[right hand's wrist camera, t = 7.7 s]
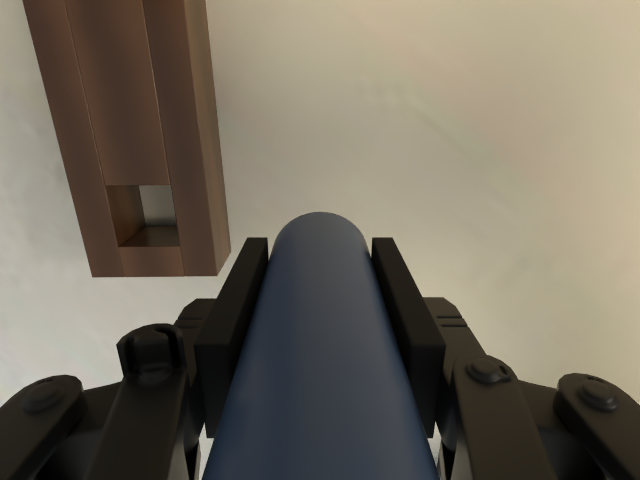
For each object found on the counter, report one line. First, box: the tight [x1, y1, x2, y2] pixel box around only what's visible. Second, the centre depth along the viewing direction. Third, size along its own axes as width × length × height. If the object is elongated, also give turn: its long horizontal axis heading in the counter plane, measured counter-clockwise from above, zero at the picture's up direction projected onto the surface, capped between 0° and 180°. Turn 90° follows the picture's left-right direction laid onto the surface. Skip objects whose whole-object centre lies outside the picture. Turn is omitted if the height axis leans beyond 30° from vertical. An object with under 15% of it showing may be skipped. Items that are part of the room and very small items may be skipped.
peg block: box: [23, 0, 231, 277], centre depth 26 cm, size 10×27×8 cm, turn 1°
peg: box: [202, 212, 440, 480], centre depth 10 cm, size 4×4×12 cm
